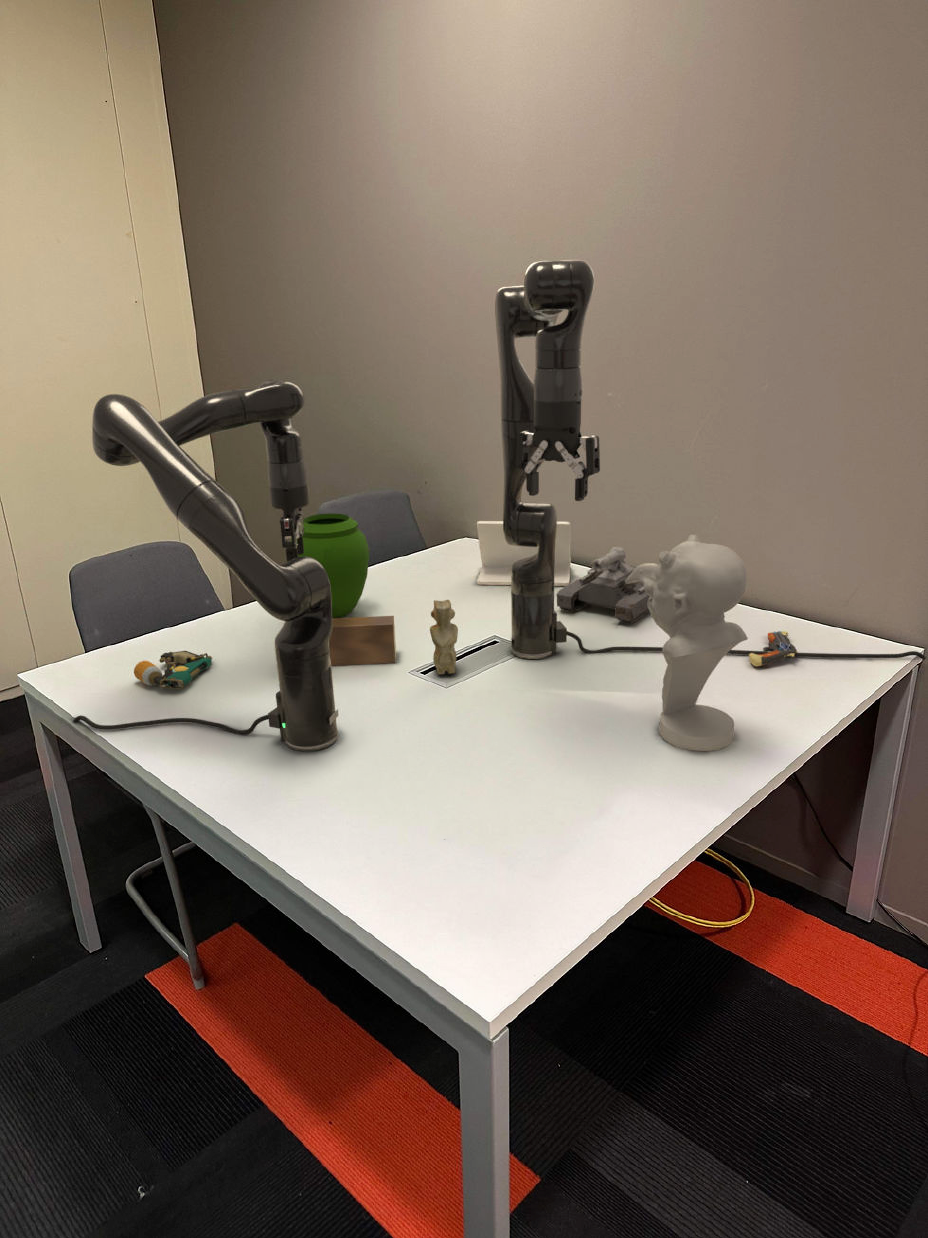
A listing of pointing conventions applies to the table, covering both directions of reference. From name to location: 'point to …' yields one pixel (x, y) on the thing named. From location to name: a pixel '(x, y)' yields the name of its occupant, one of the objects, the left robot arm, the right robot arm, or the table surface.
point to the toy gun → (774, 649)
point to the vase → (338, 557)
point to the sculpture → (444, 637)
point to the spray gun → (172, 669)
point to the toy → (607, 589)
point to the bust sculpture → (694, 634)
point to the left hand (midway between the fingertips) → (296, 559)
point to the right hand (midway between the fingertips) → (556, 497)
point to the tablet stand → (517, 554)
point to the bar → (362, 640)
